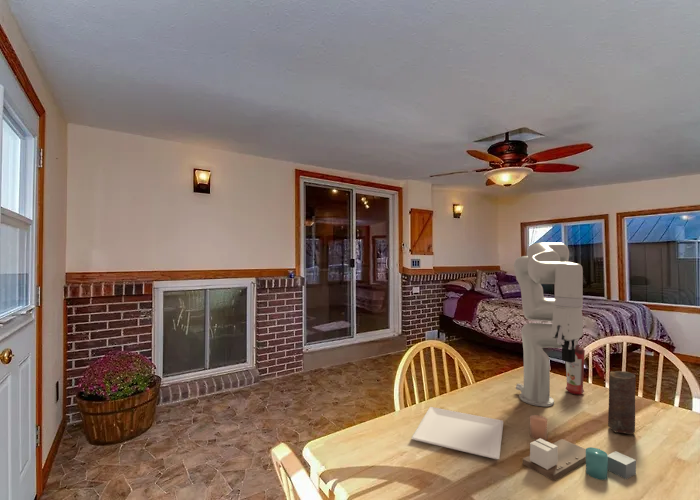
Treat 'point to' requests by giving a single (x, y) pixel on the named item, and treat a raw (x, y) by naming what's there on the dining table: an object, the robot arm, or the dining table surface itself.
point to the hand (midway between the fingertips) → (568, 361)
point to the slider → (544, 453)
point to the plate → (461, 432)
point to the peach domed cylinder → (538, 427)
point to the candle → (622, 402)
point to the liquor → (576, 372)
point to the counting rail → (561, 460)
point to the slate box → (621, 465)
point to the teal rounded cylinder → (596, 463)
